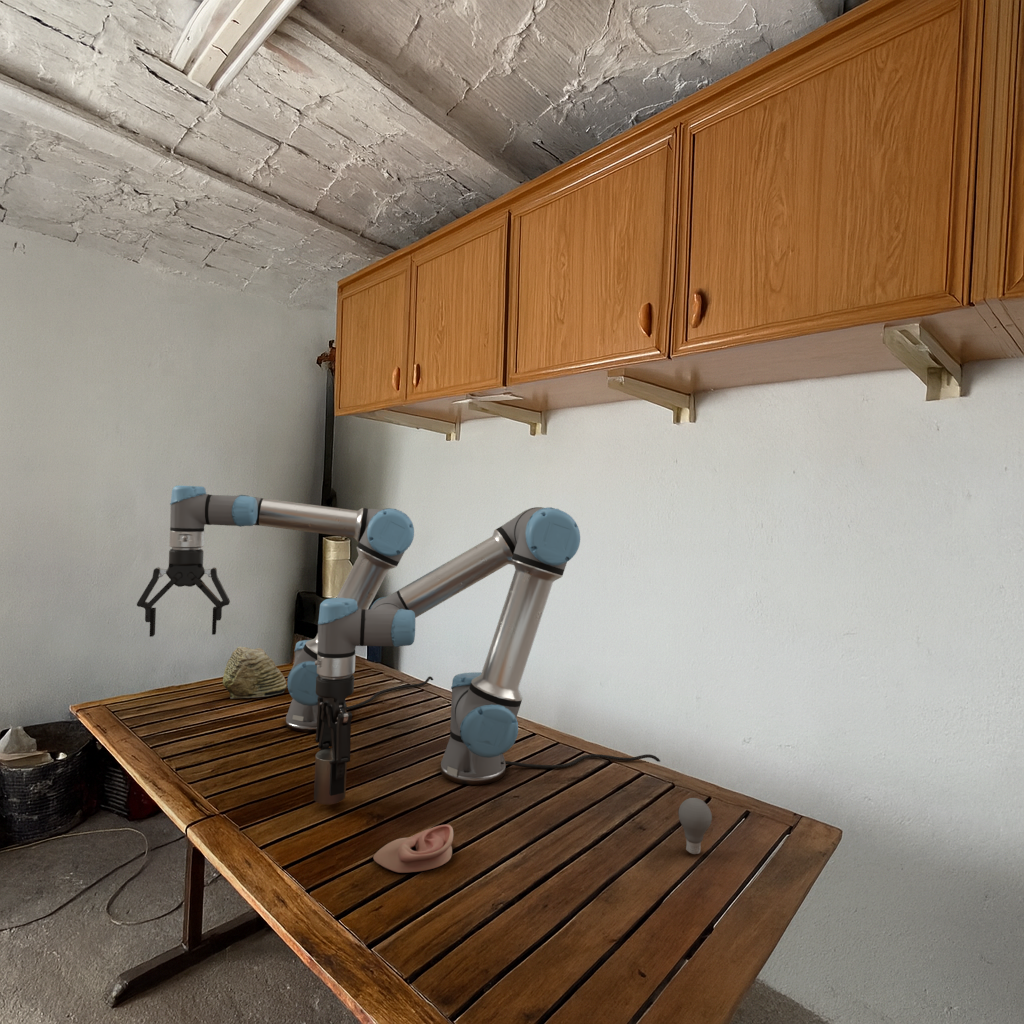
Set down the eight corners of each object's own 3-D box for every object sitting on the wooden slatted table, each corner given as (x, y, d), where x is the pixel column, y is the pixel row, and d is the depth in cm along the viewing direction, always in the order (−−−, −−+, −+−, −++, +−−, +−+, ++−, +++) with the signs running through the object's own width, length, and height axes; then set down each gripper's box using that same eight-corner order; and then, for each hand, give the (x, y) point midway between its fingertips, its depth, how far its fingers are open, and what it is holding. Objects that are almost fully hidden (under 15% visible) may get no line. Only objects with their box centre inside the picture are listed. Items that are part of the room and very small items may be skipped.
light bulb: (672, 843, 121) (674, 791, 121) (702, 843, 121) (705, 792, 121) (683, 861, 115) (685, 807, 115) (715, 861, 115) (717, 807, 115)
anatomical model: (366, 844, 109) (392, 812, 120) (365, 867, 109) (391, 833, 120) (440, 856, 106) (459, 823, 117) (439, 880, 106) (458, 844, 117)
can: (315, 791, 132) (317, 748, 132) (346, 789, 133) (347, 747, 133) (312, 805, 126) (314, 761, 126) (344, 803, 127) (346, 759, 127)
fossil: (218, 695, 195) (220, 647, 195) (278, 685, 208) (279, 640, 207) (228, 703, 189) (230, 653, 188) (289, 692, 201) (290, 645, 201)
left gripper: (124, 549, 147) (121, 639, 148) (241, 550, 156) (238, 635, 157) (131, 546, 154) (128, 632, 155) (242, 547, 163) (239, 629, 164)
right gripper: (302, 665, 135) (298, 772, 135) (333, 689, 119) (328, 811, 120) (336, 661, 139) (332, 765, 140) (371, 684, 124) (366, 801, 124)
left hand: (183, 634), depth 156 cm, fingers open, 13 cm apart
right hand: (330, 786), depth 130 cm, fingers closed on can, 6 cm apart
